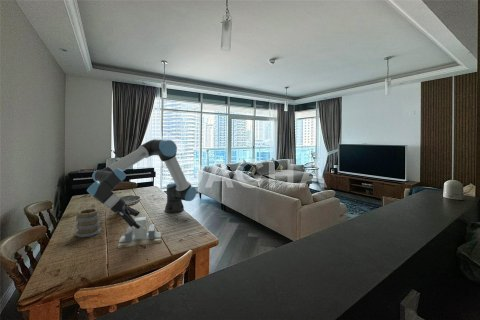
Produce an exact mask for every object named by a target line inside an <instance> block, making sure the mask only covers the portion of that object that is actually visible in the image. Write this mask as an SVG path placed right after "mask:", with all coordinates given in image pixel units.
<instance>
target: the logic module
mask: <svg viewBox="0 0 480 320" xmlns="http://www.w3.org/2000/svg"><path fill="white" fill-rule="evenodd" d="M146 219H147V216H143V217H138V218H136V217H134V220H135V222H138V223H139V224H140V225H142V226H143V227H144V228H146V230H145V231H144V232H143V233H142V232H140V231H139V230H138V229H136V228H135V227H134V226H133V233H134V235H135V239H143V238H146V236H147V233H148V232H147V222H146Z"/></svg>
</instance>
